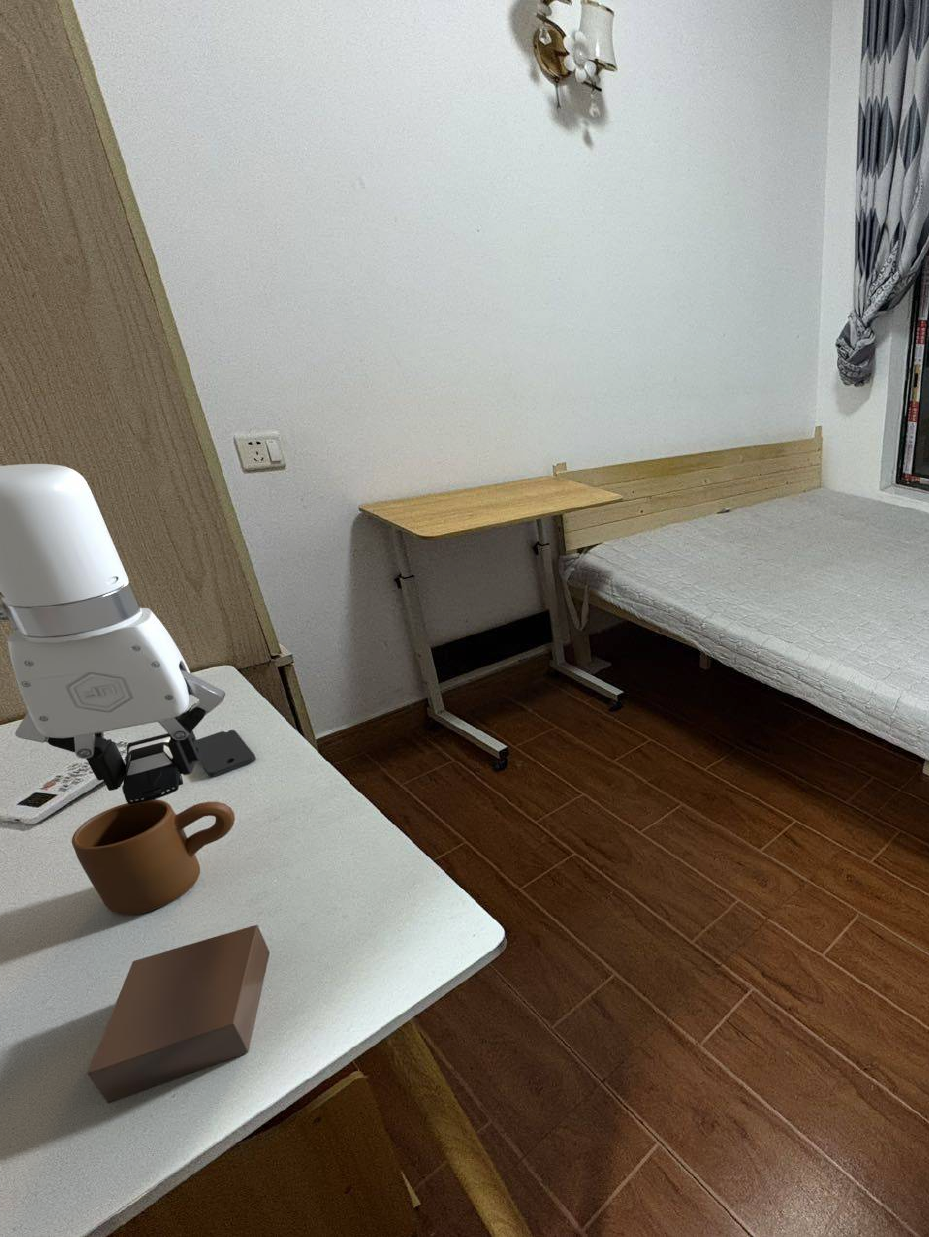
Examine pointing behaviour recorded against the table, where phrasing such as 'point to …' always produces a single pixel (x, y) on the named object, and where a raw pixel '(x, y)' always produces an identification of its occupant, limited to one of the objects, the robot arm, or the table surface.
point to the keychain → (224, 752)
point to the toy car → (150, 770)
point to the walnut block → (181, 1013)
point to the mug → (146, 852)
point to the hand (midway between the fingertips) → (154, 772)
